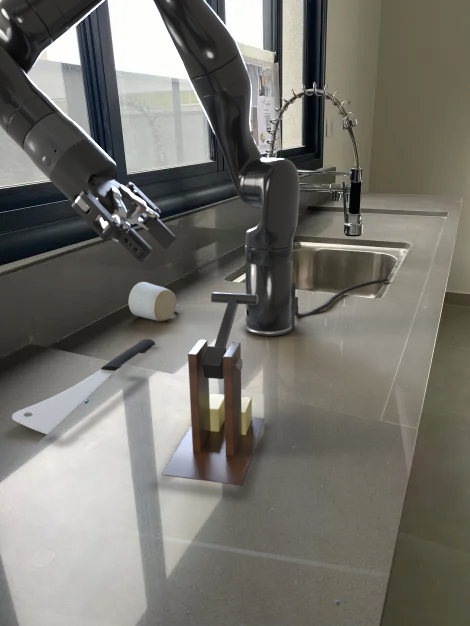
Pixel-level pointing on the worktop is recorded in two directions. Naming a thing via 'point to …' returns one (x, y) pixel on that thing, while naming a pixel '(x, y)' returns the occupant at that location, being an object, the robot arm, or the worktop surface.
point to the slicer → (209, 446)
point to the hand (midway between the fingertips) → (160, 250)
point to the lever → (223, 332)
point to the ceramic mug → (152, 302)
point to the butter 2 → (246, 413)
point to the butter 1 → (216, 411)
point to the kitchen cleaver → (73, 394)
